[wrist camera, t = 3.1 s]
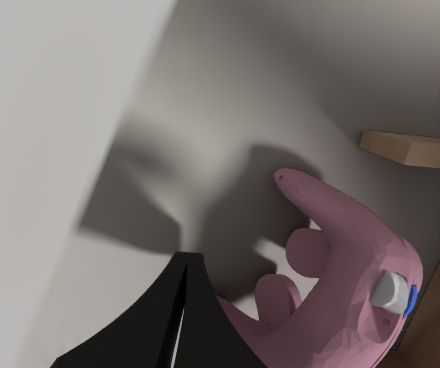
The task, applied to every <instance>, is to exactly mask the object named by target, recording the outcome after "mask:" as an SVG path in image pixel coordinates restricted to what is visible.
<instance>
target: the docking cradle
mask: <svg viewBox="0 0 440 368" xmlns="http://www.w3.org/2000/svg"><path fill="white" fill-rule="evenodd" d="M359 148H361V149H364V150H366V151H369V152H372V153H374V154H377V155H379V156H382V157H385V158H387V159H390V160H392V161H395V162H397V163H400V164H403V165H410V166H420V167H431V168H440V138H436V137H426V136H416V135H406V134H396V133H386V132H376V131H366V130H363V133H362V137H361V140H360V144H359ZM375 368H440V262H439V264H438V266H437V268H436V270H435V272H434V274H433V276H432V278H431V281H430V283H429V285H428V287H427V289H426V291H425V293H424V295H423V297H422V299H421V301H420V303H419V305H418V307H417V309H416V312H415V314H414V316H413V318H412V320H411V322H410V324H409V326H408V328H407V330H406V332H405V334H404V336H403V338H402V341H401V343H400V345H399V347H398V349H397V351H396V350H389V351H388V352H387V354H386V355H385V356H384V357H383V359H382V360H381V361H380V362H379V363H378V364H377V365H376V367H375Z"/></svg>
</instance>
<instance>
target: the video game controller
mask: <svg viewBox="0 0 440 368" xmlns="http://www.w3.org/2000/svg"><path fill="white" fill-rule="evenodd" d="M274 179H275V182H276V184H277V186H278V188H279V189H280V190H281V192H282V193H283V194H284V195H285V197H286V198H287V199H288V200H289V201H291V202H292V203H293V204H294V205H295V206H297V207H298V208H299V209H300V210H301V211H303V212H304V213H305V214H306V215H307V216H308V217H310V218H311V219H312V220H313V221H314V222H315V223H316V224H317V225H318V226H319V228H320V229H321V230H316V229H310V228H299V229H297V230H295V231H294V232H293V233H292V234H291V235H290V237H289V239H288V241H287V245H286V258H287V260H288V263H289V265H290V266H291V267H292V269H293V270H294V271H296V272H297V273H298V274H300V275H302V276H304V277H309V278H320V279H319V280H318V282H317V283H316V285H315V286H314V287H313V289H312V290H311V291H310V293H309V294H308V296H307V297H306V298H305V300H304V301H303V302H302V301H301V297H300V293H299V290H298V289H297V287H296V285H295V283H294V282H293V281H292V280H291V279H290V278H288V277H287V276H285V275H282V274H267V275H264V276H263V277H261V278H260V279H259V280H258V282H257V284H256V287H255V301H256V305H257V309H258V315H259V320H255V319H253V318H251V317H249V316H248V315H246V314H244V313H243V312H242V311H240V310H239V309H238V308H236V307H235V306H234V305H233V304H231V303H230V302H228V301H226V300H225V299H223V298H221V297H219V296H217V295H216V296H217V299H218V301H219V303H220V304H221V306H222V308H223V310H224V312H225V313H226V315H227V317H228V318H229V320H230V321H231V323H232V324H233V326H234V327H235V329H236V330H237V331H238V333H239V334H240V335H241V337H242V338H243V340H244V341H245V342H246V343H247V345H248V346H249V347H250V348H251V349H252V351H253V352H254V353H255V354H256V355H257V356H258V357H259V359H260V360H261V361H262V362H263V363H264V364H265V365H266V366H267V367H268V368H375V367H376V365H377V364H378V363H379V362H380V361H381V360H382V359H383V357H384V356H385V355H386V354H387V352H388V351H389V349H390V348H391V347H392V345H393V344H394V342H395V341H396V339H397V337H398V335H399V333H400V332H401V330H402V327H403V325H404V323H405V320H406V318H407V315H408V314H409V313H410V312H411V311H412V309H413V307H414V305H415V303H416V299H417V294H418V292H419V291H420V287H421V284H422V280H423V267H422V263H421V260H420V257H419V255H418V253H417V252H416V250H415V249H414V247H413V246H412V245H411V244H410V243H409V241H407V240H406V239H405V238H404V237H403V236H402V235H400V234H399V233H397V232H396V231H394V230H392V229H391V228H390V227H389V226H388V225H387V224H386V223H385V222H384V221H383V220H382V219H380V218H379V217H378V216H377V215H375V214H374V213H373V212H372V211H370V210H369V209H368V208H367V207H365V206H364V205H362V204H361V203H359V202H358V201H356V200H355V199H353V198H352V197H350V196H349V195H347V194H345V193H343V192H341V191H340V190H338V189H336V188H334V187H332V186H330V185H328V184H326V183H324V182H322V181H320V180H318V179H316V178H314V177H312V176H310V175H309V174H306V173H304V172H302V171H299V170H296V169H293V168H282V169H278V170H277V171H276V172H275V173H274Z"/></svg>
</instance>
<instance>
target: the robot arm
mask: <svg viewBox="0 0 440 368" xmlns="http://www.w3.org/2000/svg"><path fill="white" fill-rule="evenodd" d="M183 309H184V314H183ZM182 314H183V320H182V326H181V331H180V337H179V342H178V348H177V353H176V358H175V363H174V368H268V367H267V366H266V365H265V364H264V363H263V362H262V361H261V360H260V359H259V357H258V356H257V355H256V354H255V353H254V352H253V351H252V349H251V348H250V347H249V346H248V345H247V343H246V342H245V341H244V340H243V338H242V337H241V335H240V334H239V333H238V331H237V330H236V329H235V327H234V326H233V324H232V323H231V321H230V320H229V318H228V317H227V315H226V313H225V312H224V310H223V308H222V306H221V304H220V303H219V301H218V299H217V296H216V294H215V292H214V290H213V288H212V285H211V282H210V280H209V277H208V274H207V271H206V267H205V263H204V256H203V254H202V253H189V252H175V253H174V255H173V257H172V258H171V260H170V261H169V263H168V264H167V266H166V267H165V269H164V270H163V271H162V273H161V274H160V275H159V276H158V278H157V279H156V280H155V281H154V283H153V284H152V285H151V286H150V287H149V288H148V289H147V290H146V292H145V293H144V294H143V295H142V296H141V297H140V298H139V299H138V300H137V301H136V302H135V303H134V304H133V305H132V306H130V307H129V308H128V309H127V310H126V311H125V312H124V313H122V314H121V315H120V316H119V317H118V318H117V319H115V320H114V321H113V322H112V323H110V324H109V325H108V326H106V327H105V328H103V329H102V330H101V331H99V332H98V333H97V334H95V335H94V336H92V337H91V338H90V339H88V340H87V341H85V342H83V343H82V344H80V345H79V346H77V347H75V348H74V349H72V350H70V351H69V352H67V353H65V354H64V355H62V356H60V357H58V358H57V359H56V360H55V362H54V363H53V364H52V366H51V367H50V368H171V362H172V357H173V352H174V348H175V344H176V339H177V335H178V331H179V327H180V322H181V318H182Z"/></svg>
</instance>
